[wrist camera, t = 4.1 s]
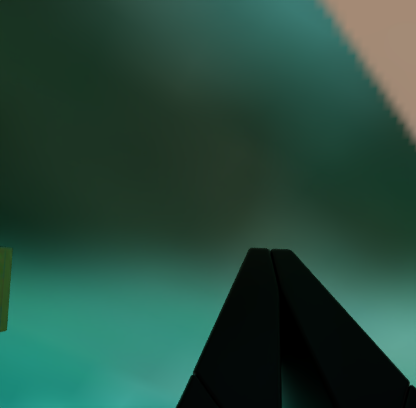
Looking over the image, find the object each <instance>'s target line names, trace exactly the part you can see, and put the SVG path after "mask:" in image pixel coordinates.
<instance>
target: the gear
mask: <svg viewBox="0 0 416 408" xmlns="http://www.w3.org/2000/svg"><path fill="white" fill-rule="evenodd" d="M12 252H13V248H10V247H3V246H0V332H2V331H6V330H7V321H8V307H9V294H10V280H11V266H12Z"/></svg>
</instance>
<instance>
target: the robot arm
mask: <svg viewBox="0 0 416 408" xmlns="http://www.w3.org/2000/svg"><path fill="white" fill-rule="evenodd" d="M409 385H410V382H409V380H408V379H407V378H406V377H405V376H404V375H403V373H402V372H401V371H400V370H399V369H398V368H397V367H396V366H395V365H394V364H393V362H392V361H391V360H390V359H389V358H388V357H387V356H386V355H385V354H384V352H383V351H382V350H381V349H380V348H379V347H378V346H377V345H376V344H375V342H374V341H373V340H372V339H371V338H370V337H369V336H368V335H367V334H366V332H365V331H364V330H363V329H362V328H361V327H360V326H359V325H358V324H357V322H356V321H355V320H354V319H353V318H352V317H351V316H350V315H349V314H348V312H347V311H346V310H345V309H344V308H343V307H342V306H341V305H340V304H339V302H338V301H337V300H336V299H335V298H334V297H333V296H332V295H331V294H330V292H329V291H328V290H327V289H326V288H325V287H324V286H323V285H322V284H321V283H320V281H319V280H318V279H317V278H316V277H315V276H314V275H313V274H312V273H311V271H310V270H309V269H308V268H307V267H306V266H305V265H304V264H303V263H302V261H301V260H300V259H299V258H298V257H297V256H296V255H295V254H294V253H293V252H292V251H291V250H289V249H271V250H269V249H267V248H250V249H249V250H248V252H247V254H246V256H245V259H244V261H243V263H242V265H241V267H240V270H239V272H238V274H237V276H236V278H235V281H234V283H233V285H232V287H231V289H230V292H229V294H228V296H227V298H226V300H225V303H224V305H223V307H222V309H221V311H220V314H219V316H218V318H217V320H216V322H215V325H214V327H213V329H212V331H211V333H210V335H209V338H208V340H207V342H206V344H205V346H204V349H203V351H202V353H201V355H200V357H199V360H198V362H197V364H196V366H195V368H194V371H193V375H191V377H190V379H189V381H188V383H187V385H186V388H185V390H184V392H183V394H182V396H181V398H180V400H179V402H178V404H177V406H176V408H416V388H415V387H414V386H413V385H410V386H409Z"/></svg>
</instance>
